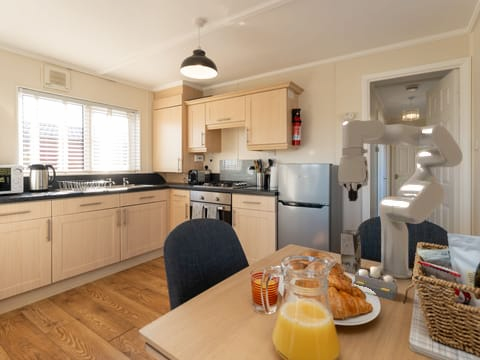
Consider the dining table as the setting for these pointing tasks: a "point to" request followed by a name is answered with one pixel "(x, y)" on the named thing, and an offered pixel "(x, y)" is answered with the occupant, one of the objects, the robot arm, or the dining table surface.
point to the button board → (378, 285)
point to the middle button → (375, 272)
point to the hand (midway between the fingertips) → (353, 200)
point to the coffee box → (351, 250)
